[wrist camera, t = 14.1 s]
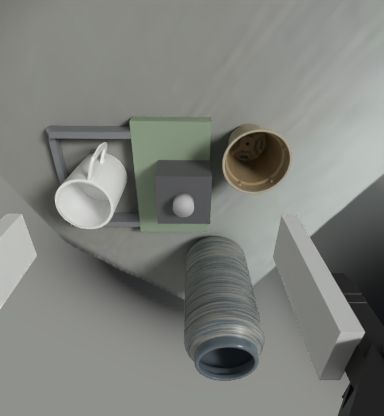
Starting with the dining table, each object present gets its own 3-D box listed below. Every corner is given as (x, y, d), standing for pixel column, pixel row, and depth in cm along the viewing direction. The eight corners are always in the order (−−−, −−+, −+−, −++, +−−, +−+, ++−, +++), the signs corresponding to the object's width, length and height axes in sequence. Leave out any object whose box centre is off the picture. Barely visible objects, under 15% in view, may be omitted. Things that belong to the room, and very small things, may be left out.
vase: (174, 256, 58) (166, 368, 39) (211, 219, 54) (223, 325, 34) (216, 281, 62) (228, 395, 43) (254, 249, 58) (288, 360, 38)
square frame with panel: (47, 116, 44) (10, 137, 35) (210, 117, 44) (215, 139, 35) (74, 223, 54) (51, 261, 45) (205, 224, 54) (208, 262, 45)
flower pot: (224, 175, 49) (230, 201, 42) (211, 122, 44) (215, 140, 37) (279, 161, 48) (295, 185, 40) (271, 105, 43) (288, 120, 36)
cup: (137, 140, 46) (124, 164, 37) (122, 201, 52) (108, 235, 43) (85, 123, 44) (59, 145, 36) (76, 189, 50) (52, 220, 42)
